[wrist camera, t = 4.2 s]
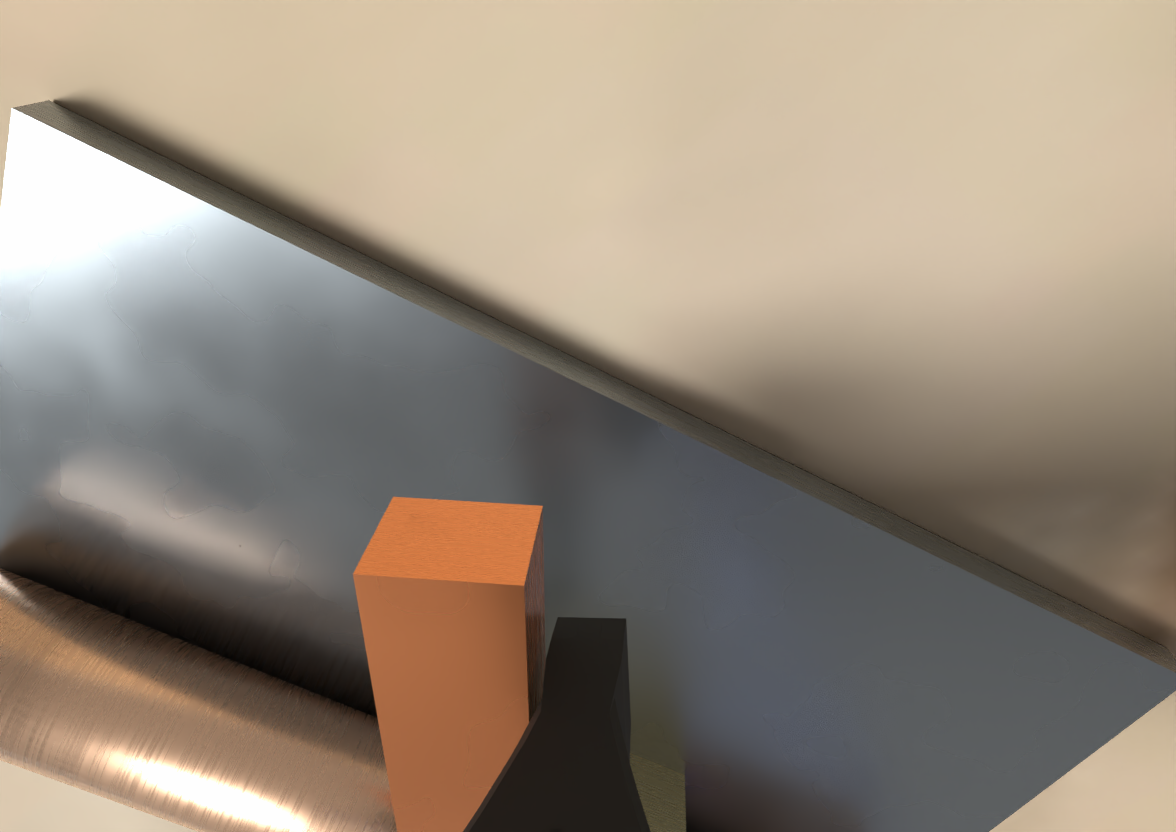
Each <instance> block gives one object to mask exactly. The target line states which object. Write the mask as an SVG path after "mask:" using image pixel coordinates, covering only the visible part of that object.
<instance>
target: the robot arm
mask: <svg viewBox="0 0 1176 832" xmlns="http://www.w3.org/2000/svg"><path fill="white" fill-rule="evenodd" d="M630 739H631V712H630V690H629V668H628V646H627V624H626V618H579V617H558V618H557V621H556V624H555V628H554V631H553V634H552V637H551V641H550V645H549V649H548V653H547V656H546V662H545V672H544V683H543V693H542V700H541V702H540V703H539V705H538V707H537V709H536V711H535V713H534V715H533V716H532V718H531V720H530V722H529V724H528V726H527V728H526V729H525V731H524V733H523V735H522V737H521V739H520V741H519V742H518V744H517V746H516V748H515V749H514V751H513V753H512V755H511V756H510V758H509V760H508V761H507V763H506V765H505V766H504V768H503V769H502V771H501V773H500V774H499V776H498V777H497V779H496V781H495V782H494V784H493V786H492V787H491V789H490V790H489V792H488V794H487V795H486V797H485V798H484V800H483V802H482V803H481V805H480V807H479V808H478V810H477V811H476V813H475V814H474V816H473V817H472V819H471V820H470V822H469V823H468V825H467V826H466V828H465V829H464V831H463V832H651V831H650V828H649V825H648V822H647V819H646V815H645V812H644V809H643V806H642V803H641V800H640V796H639V793H638V790H637V787H636V783H635V780H634V776H633V773H632V769H631V766H630Z"/></svg>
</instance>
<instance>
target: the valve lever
mask: <svg viewBox="0 0 1176 832" xmlns="http://www.w3.org/2000/svg"><path fill="white" fill-rule="evenodd" d="M353 578H354V584H355V590H356V595H357V601H358V607H359V613H360V619H361V624H362V630H363V636H364V642H365V648H366V653H367V659H368V665H369V671H370V677H371V682H372V688H373V694H374V700H375V706H376V711H377V717H378V723H379V729H380V735H381V740H382V746H383V752H384V758H385V764H386V769H387V775H388V781H389V787H390V793H391V799H392V804H393V810H394V816H395V822H396V828H397V832H463V831H464V829H465V828H466V826H467V825H468V823H469V822H470V820H471V819H472V817H473V816H474V814H475V813H476V811H477V810H478V808H479V807H480V805H481V803H482V802H483V800H484V798H485V797H486V795H487V794H488V792H489V790H490V789H491V787H492V786H493V784H494V782H495V781H496V779H497V777H498V776H499V774H500V773H501V771H502V769H503V768H504V766H505V765H506V763H507V761H508V760H509V758H510V756H511V755H512V753H513V751H514V749H515V748H516V746H517V744H518V742H519V741H520V739H521V737H522V735H523V733H524V731H525V729H526V728H527V726H528V724H529V722H530V720H531V718H532V716H533V715H534V713H535V711H536V709H537V707H538V705H539V703H540V702H541V700H542V693H543V683H544V672H545V662H546V646H545V597H544V547H543V506H537V505H521V504H504V503H488V502H471V501H455V500H439V499H422V498H406V497H393V498H392V500H391V502H390V504H389V506H388V508H387V509H386V511H385V513H384V515H383V517H382V519H381V521H380V523H379V525H378V527H377V529H376V531H375V533H374V534H373V536H372V538H371V540H370V542H369V544H368V546H367V548H366V550H365V552H364V554H363V556H362V557H361V559H360V561H359V563H358V565H357V567H356V569H355V571H354V573H353Z"/></svg>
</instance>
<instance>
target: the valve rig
mask: <svg viewBox="0 0 1176 832" xmlns="http://www.w3.org/2000/svg"><path fill="white" fill-rule="evenodd" d="M393 497H406V498H422V499H439V500H455V501H471V502H488V503H504V504H521V505H537V506H543V547H544V597H545V646H546V656H547V653H548V649H549V645H550V641H551V637H552V634H553V631H554V628H555V624H556V621H557V618H558V617H579V618H626V624H627V646H628V668H629V690H630V712H631V739H630V766H631V769H632V773H633V776H634V780H635V783H636V787H637V790H638V793H639V796H640V800H641V803H642V806H643V809H644V812H645V815H646V819H647V822H648V825H649V828H650V831H651V832H989V831H990V830H992V829H993V828H994V827H996V826H997V825H998V824H1000V823H1001V822H1002V821H1004V820H1005V819H1006V818H1008V817H1009V816H1010V815H1012V814H1013V813H1014V812H1016V811H1017V810H1018V809H1020V808H1021V807H1022V806H1024V805H1025V804H1026V803H1028V802H1029V801H1030V800H1031V799H1033V798H1034V797H1035V796H1037V795H1038V794H1039V793H1041V792H1042V791H1043V790H1045V789H1046V788H1047V787H1049V786H1050V785H1051V784H1053V783H1054V782H1055V781H1057V780H1058V779H1059V778H1061V777H1062V776H1063V775H1065V774H1066V773H1067V772H1069V771H1070V770H1071V769H1073V768H1074V767H1075V766H1076V765H1078V764H1079V763H1080V762H1082V761H1083V760H1084V759H1086V758H1087V757H1088V756H1090V755H1091V754H1092V753H1094V752H1095V751H1096V750H1098V749H1099V748H1100V747H1102V746H1103V745H1104V744H1106V743H1107V742H1108V741H1110V740H1111V739H1112V738H1114V737H1115V736H1116V735H1118V734H1119V733H1120V732H1122V731H1123V730H1124V729H1125V728H1127V727H1128V726H1129V725H1131V724H1132V723H1133V722H1135V721H1136V720H1137V719H1139V718H1140V717H1141V716H1143V715H1144V714H1145V713H1147V712H1148V711H1149V710H1151V709H1152V708H1153V707H1155V706H1156V705H1157V704H1159V703H1160V702H1161V701H1163V700H1164V699H1165V698H1167V697H1168V696H1169V695H1170V694H1172V693H1173V692H1174V691H1176V660H1175V659H1174V657H1173V656H1172V655H1171V653H1170V652H1169V651H1168V649H1167V648H1166V647H1163V646H1161V645H1159V644H1157V643H1155V642H1153V641H1151V640H1149V639H1147V638H1145V637H1143V636H1141V635H1139V634H1137V633H1135V632H1133V631H1131V630H1129V629H1127V628H1125V627H1123V626H1121V625H1119V624H1117V623H1115V622H1112V621H1110V620H1108V619H1106V618H1104V617H1102V616H1100V615H1098V614H1096V613H1094V612H1092V611H1090V610H1088V609H1086V608H1084V607H1082V606H1080V605H1078V604H1076V603H1074V602H1072V601H1070V600H1068V599H1066V598H1063V597H1061V596H1059V595H1057V594H1055V593H1053V592H1051V591H1049V590H1047V589H1045V588H1043V587H1041V586H1039V585H1037V584H1035V583H1033V582H1031V581H1029V580H1027V579H1025V578H1023V577H1021V576H1019V575H1017V574H1015V573H1012V572H1010V571H1008V570H1006V569H1004V568H1002V567H1000V566H998V565H996V564H994V563H992V562H990V561H988V560H986V559H984V558H982V557H980V556H978V555H976V554H974V553H972V552H970V551H968V550H966V549H963V548H961V547H959V546H957V545H955V544H953V543H951V542H949V541H947V540H945V539H943V538H941V537H939V536H937V535H935V534H933V533H931V532H929V531H927V530H925V529H923V528H921V527H919V526H917V525H915V524H912V523H910V522H908V521H906V520H904V519H902V518H900V517H898V516H896V515H894V514H892V513H890V512H888V511H886V510H884V509H882V508H880V507H878V506H876V505H874V504H872V503H870V502H868V501H866V500H863V499H861V498H859V497H857V496H855V495H853V494H851V493H849V492H847V491H845V490H843V489H841V488H839V487H837V486H835V485H833V484H831V483H829V482H827V481H825V480H823V479H821V478H819V477H817V476H815V475H812V474H810V473H808V472H806V471H804V470H802V469H800V468H798V467H796V466H794V465H792V464H790V463H788V462H786V461H784V460H782V459H780V458H778V457H776V456H774V455H772V454H770V453H768V452H766V451H764V450H761V449H759V448H757V447H755V446H753V445H751V444H749V443H747V442H745V441H743V440H741V439H739V438H737V437H735V436H733V435H731V434H729V433H727V432H725V431H723V430H721V429H719V428H717V427H715V426H712V425H710V424H708V423H706V422H704V421H702V420H700V419H698V418H696V417H694V416H692V415H690V414H688V413H686V412H684V411H682V410H680V409H678V408H676V407H674V406H672V405H670V404H668V403H666V402H664V401H661V400H659V399H657V398H655V397H653V396H651V395H649V394H647V393H645V392H643V391H641V390H639V389H637V388H635V387H633V386H631V385H629V384H627V383H625V382H623V381H621V380H619V379H617V378H615V377H612V376H610V375H608V374H606V373H604V372H602V371H600V370H598V369H596V368H594V367H592V366H590V365H588V364H586V363H584V362H582V361H580V360H578V359H576V358H574V357H572V356H570V355H568V354H566V353H564V352H561V351H559V350H557V349H555V348H553V347H551V346H549V345H547V344H545V343H543V342H541V341H539V340H537V339H535V338H533V337H531V336H529V335H527V334H525V333H523V332H521V331H519V330H517V329H515V328H512V327H510V326H508V325H506V324H504V323H502V322H500V321H498V320H496V319H494V318H492V317H490V316H488V315H486V314H484V313H482V312H480V311H478V310H476V309H474V308H472V307H470V306H468V305H466V304H464V303H461V302H459V301H457V300H455V299H453V298H451V297H449V296H447V295H445V294H443V293H441V292H439V291H437V290H435V289H433V288H431V287H429V286H427V285H425V284H423V283H421V282H419V281H417V280H415V279H413V278H410V277H408V276H406V275H404V274H402V273H400V272H398V271H396V270H394V269H392V268H390V267H388V266H386V265H384V264H382V263H380V262H378V261H376V260H374V259H372V258H370V257H368V256H366V255H364V254H361V253H359V252H357V251H355V250H353V249H351V248H349V247H347V246H345V245H343V244H341V243H339V242H337V241H335V240H333V239H331V238H329V237H327V236H325V235H323V234H321V233H319V232H317V231H315V230H313V229H310V228H308V227H306V226H304V225H302V224H300V223H298V222H296V221H294V220H292V219H290V218H288V217H286V216H284V215H282V214H280V213H278V212H276V211H274V210H272V209H270V208H268V207H266V206H264V205H261V204H259V203H257V202H255V201H253V200H251V199H249V198H247V197H245V196H243V195H241V194H239V193H237V192H235V191H233V190H231V189H229V188H227V187H225V186H223V185H221V184H219V183H217V182H215V181H213V180H210V179H208V178H206V177H204V176H202V175H200V174H198V173H196V172H194V171H192V170H190V169H188V168H186V167H184V166H182V165H180V164H178V163H176V162H174V161H172V160H170V159H168V158H166V157H164V156H161V155H159V154H157V153H155V152H153V151H151V150H149V149H147V148H145V147H143V146H141V145H139V144H137V143H135V142H133V141H131V140H129V139H127V138H125V137H123V136H121V135H119V134H117V133H115V132H113V131H110V130H108V129H106V128H104V127H102V126H100V125H98V124H96V123H94V122H92V121H90V120H88V119H86V118H84V117H82V116H80V115H78V114H76V113H74V112H72V111H70V110H68V109H66V108H64V107H62V106H59V105H57V104H55V103H53V102H51V101H44V102H39V103H34V104H30V105H25V106H20V107H15V108H12V111H11V120H10V129H9V139H8V148H7V157H6V166H5V175H4V185H3V194H2V203H1V212H0V760H2V761H4V762H7V763H10V764H13V765H15V766H18V767H21V768H24V769H27V770H29V771H32V772H35V773H38V774H40V775H43V776H46V777H49V778H51V779H54V780H57V781H60V782H63V783H65V784H68V785H71V786H74V787H76V788H79V789H82V790H85V791H87V792H90V793H93V794H96V795H99V796H101V797H104V798H107V799H110V800H112V801H115V802H118V803H121V804H124V805H126V806H129V807H132V808H135V809H137V810H140V811H143V812H146V813H148V814H151V815H154V816H157V817H160V818H162V819H165V820H168V821H171V822H173V823H176V824H179V825H182V826H184V827H187V828H190V829H193V830H196V831H198V832H397V828H396V822H395V816H394V810H393V804H392V799H391V793H390V787H389V781H388V775H387V769H386V764H385V758H384V752H383V746H382V740H381V735H380V729H379V723H378V717H377V711H376V706H375V700H374V694H373V688H372V682H371V677H370V671H369V665H368V659H367V653H366V648H365V642H364V636H363V630H362V624H361V619H360V613H359V607H358V601H357V595H356V590H355V584H354V578H353V573H354V571H355V569H356V567H357V565H358V563H359V561H360V559H361V557H362V556H363V554H364V552H365V550H366V548H367V546H368V544H369V542H370V540H371V538H372V536H373V534H374V533H375V531H376V529H377V527H378V525H379V523H380V521H381V519H382V517H383V515H384V513H385V511H386V509H387V508H388V506H389V504H390V502H391V500H392V498H393Z"/></svg>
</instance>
